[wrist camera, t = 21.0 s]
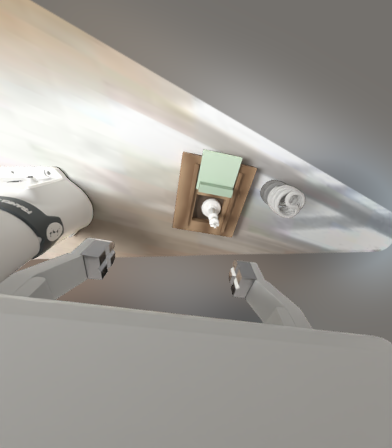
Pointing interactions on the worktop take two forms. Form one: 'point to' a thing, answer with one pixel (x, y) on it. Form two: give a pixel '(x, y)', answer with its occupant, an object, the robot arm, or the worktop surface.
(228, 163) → the cover
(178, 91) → the worktop surface
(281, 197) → the light bulb
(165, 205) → the worktop surface
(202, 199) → the board
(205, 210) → the chess piece
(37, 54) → the worktop surface
